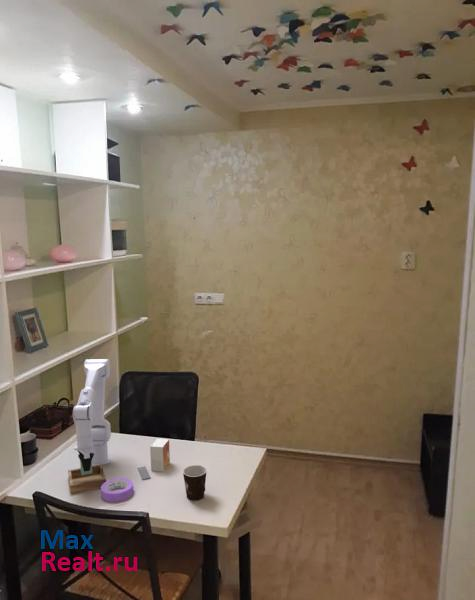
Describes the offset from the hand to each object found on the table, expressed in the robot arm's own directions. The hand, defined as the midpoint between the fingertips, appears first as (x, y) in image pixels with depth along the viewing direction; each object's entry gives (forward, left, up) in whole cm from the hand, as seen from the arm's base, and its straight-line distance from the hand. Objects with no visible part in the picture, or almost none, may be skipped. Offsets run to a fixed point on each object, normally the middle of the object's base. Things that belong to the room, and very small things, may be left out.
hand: (86, 468), depth 186 cm
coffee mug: (+28, +35, -6) cm, 45 cm away
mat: (+2, +18, -6) cm, 20 cm away
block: (0, 0, -2) cm, 2 cm away
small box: (-1, +29, -7) cm, 30 cm away
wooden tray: (0, 0, -6) cm, 6 cm away
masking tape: (+13, +10, -7) cm, 18 cm away
